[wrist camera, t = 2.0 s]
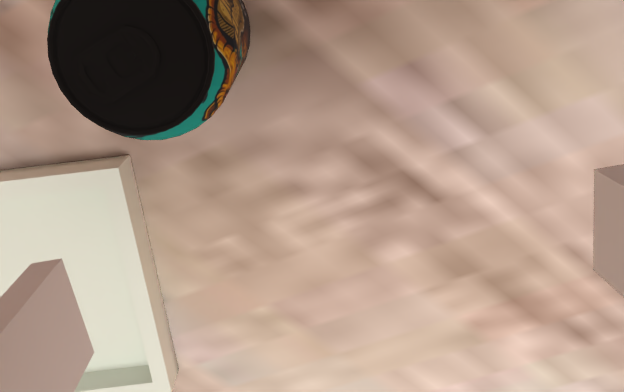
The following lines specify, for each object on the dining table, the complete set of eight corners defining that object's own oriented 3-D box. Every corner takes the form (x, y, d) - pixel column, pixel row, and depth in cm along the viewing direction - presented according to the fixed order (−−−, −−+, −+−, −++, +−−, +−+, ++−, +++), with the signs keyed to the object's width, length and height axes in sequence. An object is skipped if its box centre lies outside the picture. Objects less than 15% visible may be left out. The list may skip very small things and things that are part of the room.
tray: (-128, 185, 34) (-159, 200, 31) (129, 155, 34) (118, 167, 31) (-45, 395, 39) (-66, 422, 36) (178, 369, 39) (171, 393, 36)
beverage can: (275, 54, 32) (269, 91, 21) (170, 118, 33) (111, 186, 22) (203, -66, 30) (154, -98, 19) (93, 6, 31) (-17, 17, 19)
